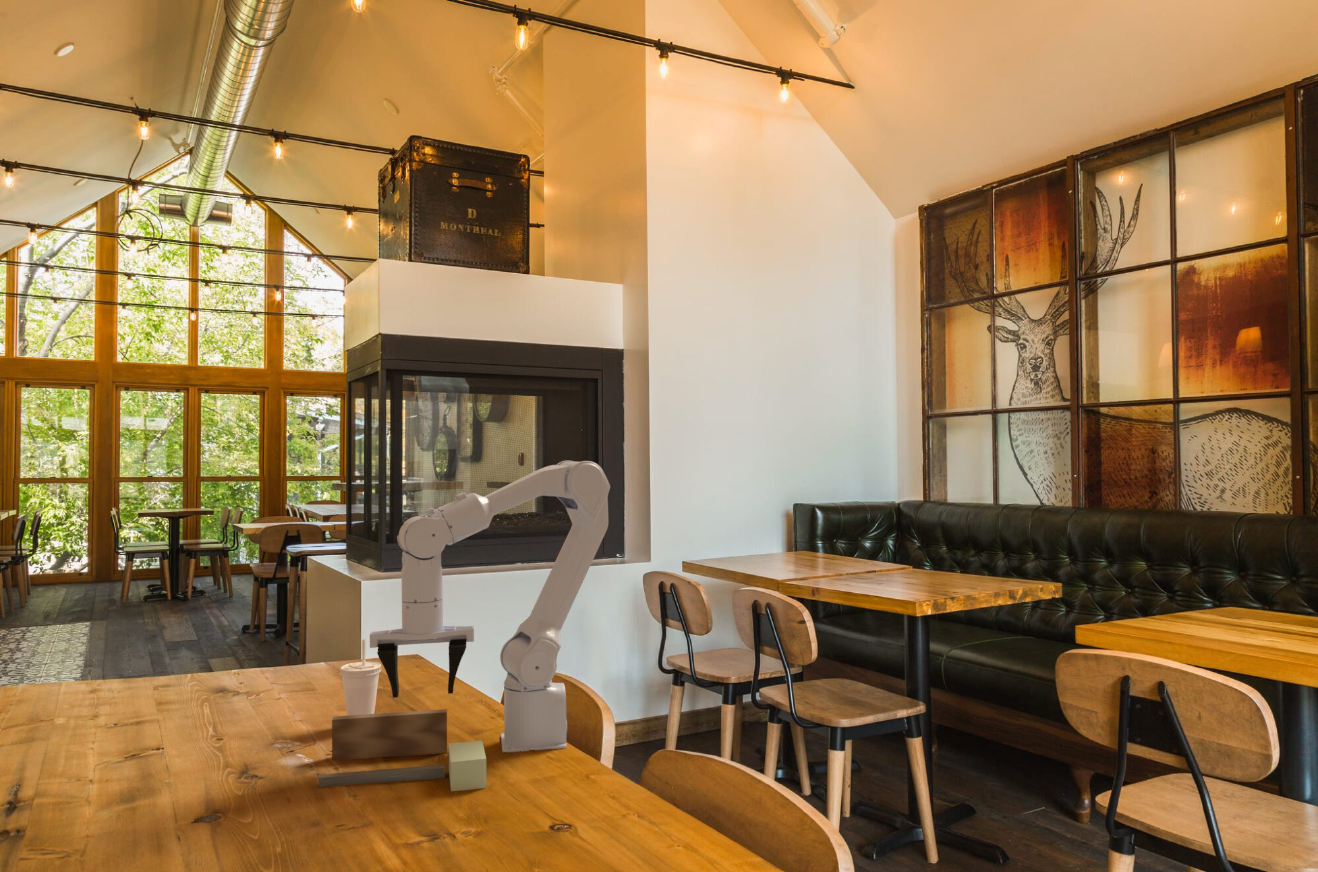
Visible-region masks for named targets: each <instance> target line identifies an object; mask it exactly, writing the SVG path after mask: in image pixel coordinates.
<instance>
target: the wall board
mask: <svg viewBox="0 0 1318 872" xmlns="http://www.w3.org/2000/svg"><path fill="white" fill-rule="evenodd" d="M447 753H448V709H447V708H445V709H444V708H443V709H442V708H441V709H429V710H428V709H427V710H413V711H412V710H411V711H410V710H409V711H399V712H398V711H397V712H383V713H374V714H364V715H349V716H347V715H337V716H333V717H332V719H331V761H342V760H344V761H345V760H357V759H358V760H360V759H369V758H370V759H372V758H387V757H388V758H389V757H403V756H405V757H406V756H419V755H431V754H432V755H434V754H436V755H437V754H447Z"/></svg>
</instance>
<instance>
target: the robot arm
mask: <svg viewBox="0 0 1318 872" xmlns="http://www.w3.org/2000/svg"><path fill="white" fill-rule="evenodd" d="M610 490H611V485H610V482H609V480H608V477H607V476H606V474H605V472H604V470H603V468H602V467H601V466H600V465H599V464H598V463H596V462H594V461H591V460H582V461H574V460H569V459H568V460H567V459H566V460H562V461H559V462H558V463H557V464H552V465H547V466H544V467H542V468H540V469H539V468H538V469H537V470H534V471H532V472H531V473H529V474H526V475H525V476H523V477H520V478H518V479H517V480H515V481H513V482H510V483H509V484H506V485H505V486H502V487H501V488H498V489H496V490H495V491H493V492H491V493H489V494H487V495H485V496H483V495H480V494H478V493H475V492H470V493H469V494H467V493H466V492H461V493H458V494H456V495H455V498H456V499H455V500H453V501H450V502H447V503H446V504H444V505H442V506H439V507H437V508H433V507H432V506H431V507H430V508H427V509H425V512H426V516H420V515H418V516H416V515H415V516H413V517H410V518H408V519H407V520H406V521H405V522H403V525H401V526H400V528H399V532H398V535H397V536H396V539H397V544H398V546H399V547H400V548H401V550H403V551H402V553H401V554H402V557H401V563H402V568H401V573H400V574H401V628H394V629H388V630H378V631H377V630H376V631H371V632H370V633H369V648H371V649H374V648H375V649H376V648H377V652H376V653H377V656H378V658H379V661H380V662H381V665H382V666H383V668H384V670H385V673H386V675H387V678H388V681H389V684H390V687H391V688H390V689H391V692H392V693H391V695H392V698H398V697H399V694H400V682H399V673H398V667H399V666H398V665H399V664H398V663H399V662H398V660H399V657H398V656H399V655H398V653H399V650H398V649H399V646H405V645H406V646H407V645H421V644H422V645H423V644H437V643H439V644H440V643H448V683H447V694H448V695H450V694H452V695H453V694H454V686H455V680H456V677H457V673H458V670H459V666H460V663H461V661H462V659H463V657H464V654H465V653H466V649H467V643H473V642H475V630H474V627H475V626H474V625H467V626H466V625H462V626H460V625H459V626H456V625H455V626H454V625H444V615H443V614H444V610H443V609H444V608H443V604H444V603H443V602H444V601H443V567H442V552H443V551H444V550H445V547H446V545H447V546H451V545H454V544H456V543H457V542H460V541H462V540H465V539H466V538H468V537H470V536H473V535H475V534H477V533H479V532H481V531H484V530H486V529H488V528H489V527H490V524H491V523H492V520H493V517H494V516H496V515H498V514H501V513H504V512H505V511H508V510H510V509H512V508H515V507H517V506H520V505H522V504H524V503H527V502H529V501H532V500H534V499H536V498H539V497H543V496H544V497H546V496H547V497H556V498H557V499H558V500H559V501H560V502H561V504H562V505H563V506H564V507H565V510H566V512H567V514H568V517H569V519H570V522H571V524H572V525H571V528H570V530H569V531H568V534H567V535H566V538H565V539H564V540H565V541H564V542H563V545H562V547H561V549H560V551H559V552H558V555H557V557H556V559H555V561H554V563H553V566H552V567H551V570H550V572H549V574H548V576H547V579H546V580H545V583H544V585H543V587H542V589H541V591H540V592H539V596H538V597H537V599H536V602H535V604H534V606H533V609H532V610H531V612H530V615H529V616H528V617H527V618H526V619H525V620H524V621H522V623H520V624H519V626H518V627H517V630H516V632H515V633H514V634H513V636H512V637H511V638H509V639H508V640H506V642H505V643H504V644H503V646H502V648H501V650H500V655H499V659H500V664H501V667H502V669H504V671H505V672H506V677H505V680H504V682H503V705H504V706H503V707H504V708H503V709H504V710H503V712H504V714H503V716H504V717H503V719H504V720H503V722H504V723H503V725H504V726H503V727H504V729H503V731H504V732H502V733H501V734H500V740H501V749H502V750H501V751H502V753H504V752H505V754H507V753H517V752H518V753H521V752H530V751H529V750H535V751H546V750H557V749H558V750H559V749H566V748H567V747H568V745H567V744H568V743H567V732H568V721H567V691H566V686H565V683H564V682H553V679H554V677H555V675H556V672H557V668H558V667H557V666H558V665H557V662H558V661H557V659H558V655H559V652H560V649H561V646H562V640H561V630H562V628H563V625H564V624H565V621H566V619H567V617H568V615H569V613H570V610H571V609H572V607H573V604H574V602H575V599H576V598H577V596H578V593H579V591H580V589H581V588H582V587H581V586H582V585H583V582H584V580H585V577H586V576H587V574H588V571H589V569H590V567H591V566H592V563H593V560H594V558H595V556H596V554H597V552H598V550H599V548H600V546H601V544H602V541H603V539H604V537H605V535H606V533H607V530H608V528H609V501H608V500H609V499H608V498H609V497H608V496H609V492H610ZM520 751H521V752H520ZM506 752H507V753H506Z"/></svg>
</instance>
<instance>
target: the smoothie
mask: <svg viewBox="0 0 1318 872" xmlns="http://www.w3.org/2000/svg"><path fill="white" fill-rule="evenodd" d="M366 644H367V642H366V639H365V638H362V639H361V661H357V662H350V663H347V664H346V663H345V664H344V665H342V666H340V669H339V671H340V672H339V675H340V676H341V677H342V678H341V679H342V687H343V694H344V701H345V708H346V709H345V710H346V716H349V715H364V714H375V710H376V709H375V708H376V701H377V692H378V685H379V675H380V673H381V672H382V663H380V662H377V661H367V660H366V659H367V658H366V657H367V656H366V655H367V652H366V647H367V646H366Z"/></svg>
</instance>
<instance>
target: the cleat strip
mask: <svg viewBox="0 0 1318 872" xmlns="http://www.w3.org/2000/svg"><path fill="white" fill-rule="evenodd" d="M445 771H446V764H437V765H422V766H413V767H412V766H411V767H398V768H397V767H396V768H385V769H374V770H373V769H372V770H370V769H369V770H360V771H346V772H337V773H336V772H333V773H323V774H319V777H318V788H323V787H324V788H325V787H326V788H327V787H337V786H338V787H341V786H354V785H356V786H357V785H369V784H385V783H397V782H409V781H411V782H412V781H423V780H424V781H425V780H426V781H427V780H439V779H445V778H446V772H445Z"/></svg>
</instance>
